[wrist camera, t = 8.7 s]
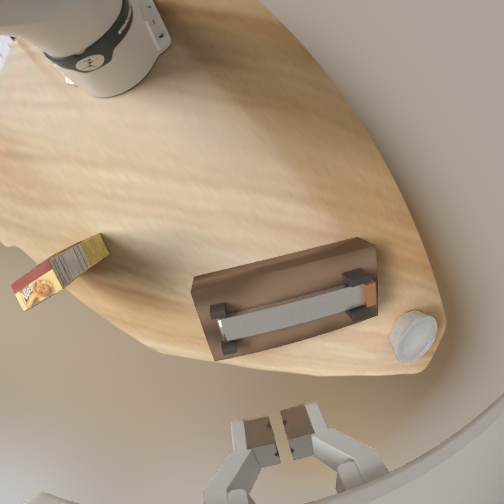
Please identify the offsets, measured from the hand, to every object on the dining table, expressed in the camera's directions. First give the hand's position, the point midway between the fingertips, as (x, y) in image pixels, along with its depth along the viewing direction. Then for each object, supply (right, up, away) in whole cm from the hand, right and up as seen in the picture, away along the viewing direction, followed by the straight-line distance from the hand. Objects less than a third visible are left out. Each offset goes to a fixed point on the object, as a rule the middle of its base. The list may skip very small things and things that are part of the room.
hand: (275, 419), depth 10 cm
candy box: (-28, +7, +29) cm, 41 cm away
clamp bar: (+5, -1, +28) cm, 29 cm away
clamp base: (+5, +1, +34) cm, 35 cm away
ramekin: (+32, -10, +41) cm, 52 cm away
